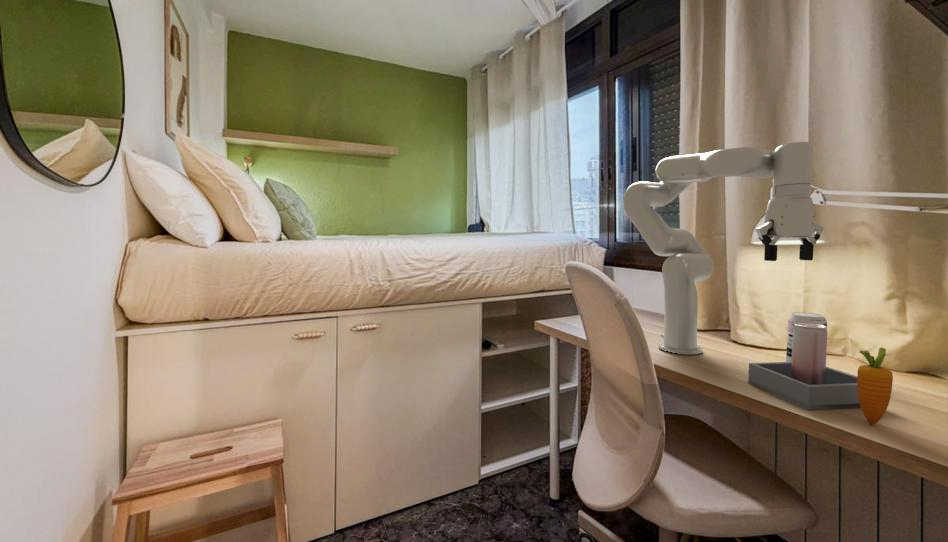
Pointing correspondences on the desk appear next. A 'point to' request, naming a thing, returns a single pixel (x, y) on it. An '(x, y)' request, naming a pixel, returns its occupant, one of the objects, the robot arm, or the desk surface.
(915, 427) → the desk surface
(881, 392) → the carrot
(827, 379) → the tray
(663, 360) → the desk surface
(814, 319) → the supplement can
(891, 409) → the desk surface
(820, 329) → the beverage can
